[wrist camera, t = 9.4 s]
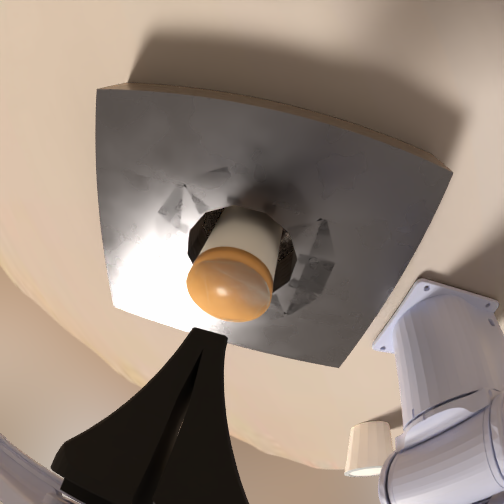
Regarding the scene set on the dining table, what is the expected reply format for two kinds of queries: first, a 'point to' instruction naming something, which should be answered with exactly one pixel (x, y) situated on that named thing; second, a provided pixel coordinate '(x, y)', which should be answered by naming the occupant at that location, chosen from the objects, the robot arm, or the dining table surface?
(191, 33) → the dining table surface
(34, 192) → the dining table surface
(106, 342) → the dining table surface
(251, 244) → the plug
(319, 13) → the dining table surface
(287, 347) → the dark grey slab
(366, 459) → the cream tapered cylinder
